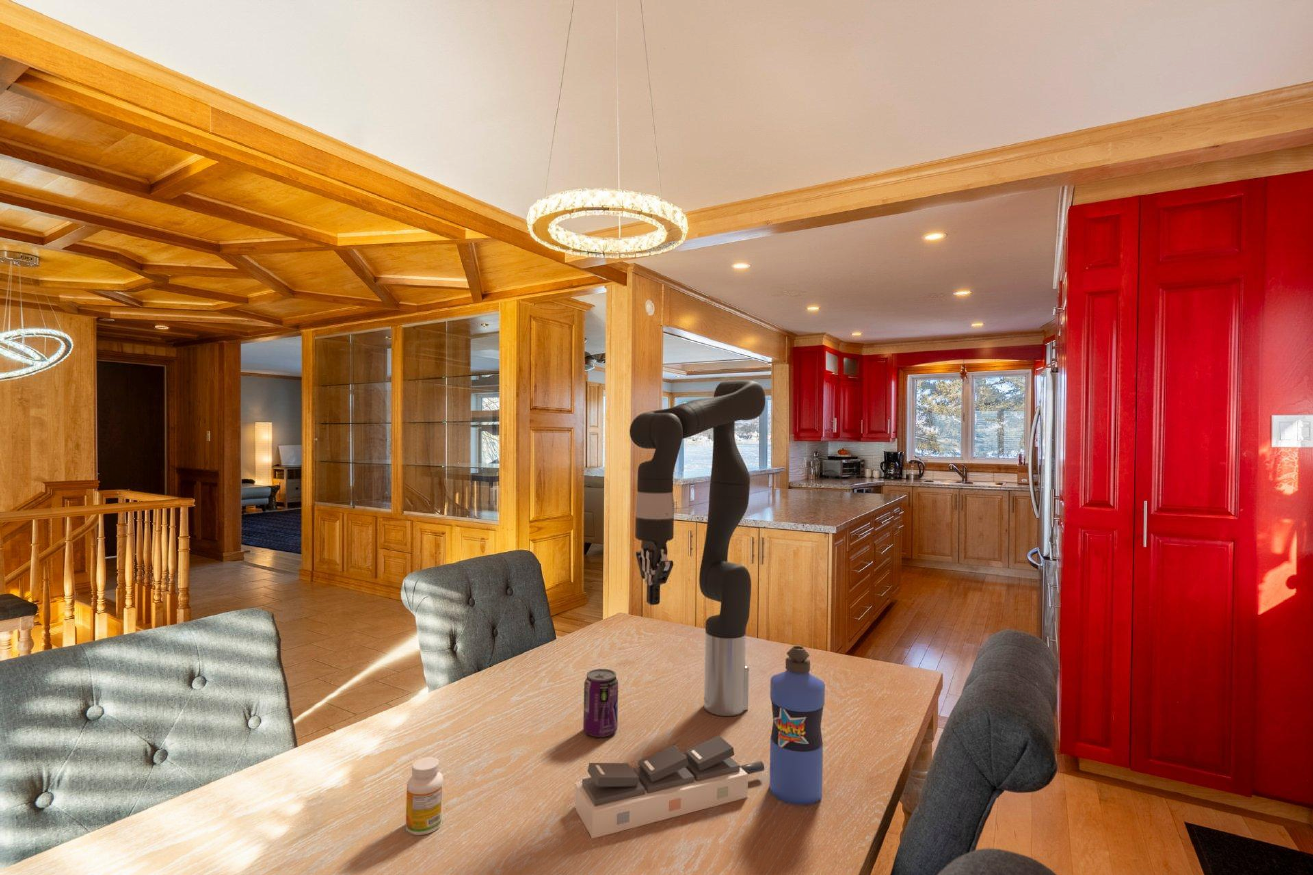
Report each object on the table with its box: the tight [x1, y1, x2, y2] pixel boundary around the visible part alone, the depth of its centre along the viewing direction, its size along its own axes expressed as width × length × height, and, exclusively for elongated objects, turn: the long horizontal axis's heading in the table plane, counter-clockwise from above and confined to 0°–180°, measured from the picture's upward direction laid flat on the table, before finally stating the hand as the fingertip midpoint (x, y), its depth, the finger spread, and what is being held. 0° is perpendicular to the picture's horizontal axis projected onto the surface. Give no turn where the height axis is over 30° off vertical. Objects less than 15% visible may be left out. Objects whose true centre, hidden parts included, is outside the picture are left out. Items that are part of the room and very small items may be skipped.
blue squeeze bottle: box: [768, 645, 826, 806], centre depth 109 cm, size 9×9×25 cm
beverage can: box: [582, 668, 619, 738], centre depth 130 cm, size 7×7×12 cm
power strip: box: [574, 757, 765, 839], centre depth 106 cm, size 34×9×5 cm, turn 115°
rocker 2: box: [637, 744, 688, 783], centre depth 105 cm, size 7×5×2 cm
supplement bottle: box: [405, 756, 444, 836], centre depth 98 cm, size 5×5×10 cm
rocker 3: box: [684, 735, 735, 771], centre depth 109 cm, size 7×5×2 cm
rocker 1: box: [587, 762, 639, 787], centre depth 101 cm, size 7×5×2 cm
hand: (653, 603), depth 122 cm, fingers closed
